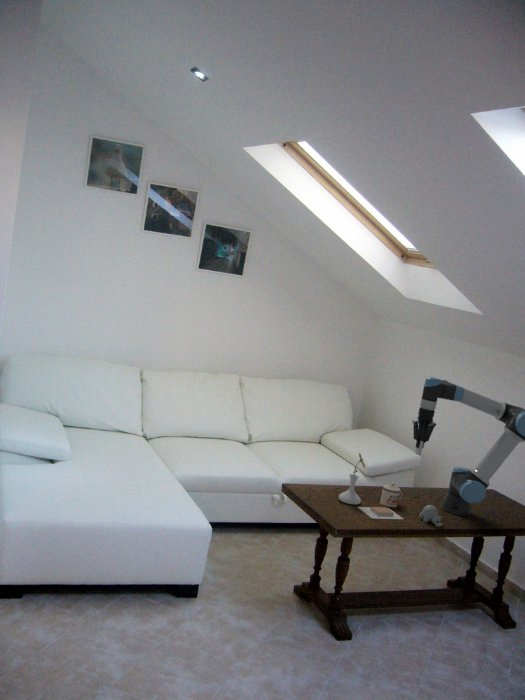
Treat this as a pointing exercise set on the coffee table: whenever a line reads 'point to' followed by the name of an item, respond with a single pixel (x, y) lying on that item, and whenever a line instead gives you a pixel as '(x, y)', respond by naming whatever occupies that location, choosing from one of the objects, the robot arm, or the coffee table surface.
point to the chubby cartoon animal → (431, 515)
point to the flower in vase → (352, 488)
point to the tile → (381, 511)
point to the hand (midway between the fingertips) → (418, 454)
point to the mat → (372, 515)
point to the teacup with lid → (390, 495)
